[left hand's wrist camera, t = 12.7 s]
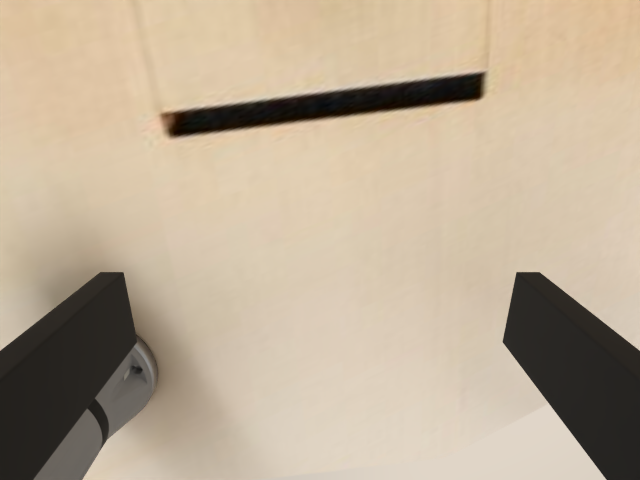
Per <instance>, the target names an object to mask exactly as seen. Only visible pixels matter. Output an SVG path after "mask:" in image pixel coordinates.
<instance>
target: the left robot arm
mask: <svg viewBox="0 0 640 480" xmlns="http://www.w3.org/2000/svg"><path fill="white" fill-rule="evenodd" d="M503 343H504V344H505V346H506V347H507V348H508V350H509V351H510V352H511V354H512V355H513V356H514V358H515V359H516V360H517V362H518V363H519V364H520V366H521V367H522V368H523V370H524V371H525V372H526V374H527V375H528V376H529V378H530V379H531V380H532V381H533V383H534V384H535V385H536V387H537V388H538V389H539V391H540V392H541V393H542V395H543V396H544V397H545V399H546V400H547V401H548V403H549V404H550V405H551V407H552V408H553V409H554V411H555V412H556V413H557V415H558V416H559V417H560V419H561V420H562V421H563V423H564V424H565V425H566V426H567V428H568V429H569V430H570V432H571V433H572V434H573V436H574V437H575V438H576V440H577V441H578V442H579V444H580V445H581V446H582V448H583V449H584V450H585V452H586V453H587V454H588V456H589V457H590V458H591V460H592V461H593V462H594V464H595V465H596V466H597V468H598V469H599V470H600V471H601V473H602V474H603V476H604V477H605V478H606V479H607V480H640V351H639V350H638V349H637V348H635V347H634V346H633V345H632V344H630V343H629V342H628V341H626V340H625V339H624V338H623V337H621V336H620V335H619V334H617V333H616V332H615V331H614V330H612V329H611V328H610V327H609V326H607V325H606V324H605V323H603V322H602V321H601V320H600V319H598V318H597V317H596V316H595V315H593V314H592V313H591V312H589V311H588V310H587V309H586V308H584V307H583V306H582V305H581V304H579V303H578V302H577V301H575V300H574V299H573V298H572V297H570V296H569V295H568V294H567V293H565V292H564V291H563V290H561V289H560V288H559V287H558V286H556V285H555V284H554V283H552V282H551V281H550V280H549V279H547V278H546V277H545V276H544V275H542V274H541V273H540V272H517V273H516V278H515V283H514V288H513V293H512V298H511V303H510V308H509V313H508V318H507V323H506V328H505V333H504V338H503ZM157 379H158V370H157V365H156V362H155V359H154V357H153V355H152V353H151V351H150V349H149V348H148V347H147V345H146V344H145V343H144V342H143V341H142V340H141V339H140V338H139V337H138V336H137V335H136V333H135V328H134V323H133V318H132V313H131V308H130V303H129V298H128V293H127V288H126V283H125V278H124V273H123V272H100V273H99V274H98V275H96V276H95V277H94V278H93V279H91V280H90V281H89V282H88V283H86V284H85V285H84V286H82V287H81V288H80V289H79V290H77V291H76V292H75V293H73V294H72V295H71V296H70V297H68V298H67V299H66V300H65V301H63V302H62V303H61V304H59V305H58V306H57V307H56V308H54V309H53V310H52V311H51V312H49V313H48V314H47V315H45V316H44V317H43V318H42V319H40V320H39V321H38V322H37V323H35V324H34V325H33V326H31V327H30V328H29V329H28V330H26V331H25V332H24V333H23V334H21V335H20V336H19V337H17V338H16V339H15V340H14V341H12V342H11V343H10V344H8V345H7V346H6V347H5V348H3V349H2V350H1V351H0V480H82V479H83V477H84V476H85V474H86V473H87V471H88V469H89V468H90V466H91V465H92V463H93V461H94V460H95V458H96V457H97V455H98V453H99V451H100V450H101V448H102V447H103V445H104V443H105V442H106V440H107V439H108V438H109V437H111V436H112V435H113V434H114V433H115V432H117V431H118V430H119V429H120V428H121V427H122V426H124V425H125V424H126V423H127V422H128V421H130V420H131V419H132V418H133V417H134V416H135V415H137V414H138V413H139V412H140V411H141V410H142V409H143V408H144V407H145V405H146V404H147V402H148V401H149V399H150V397H151V395H152V394H153V392H154V390H155V388H156V384H157Z"/></svg>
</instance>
